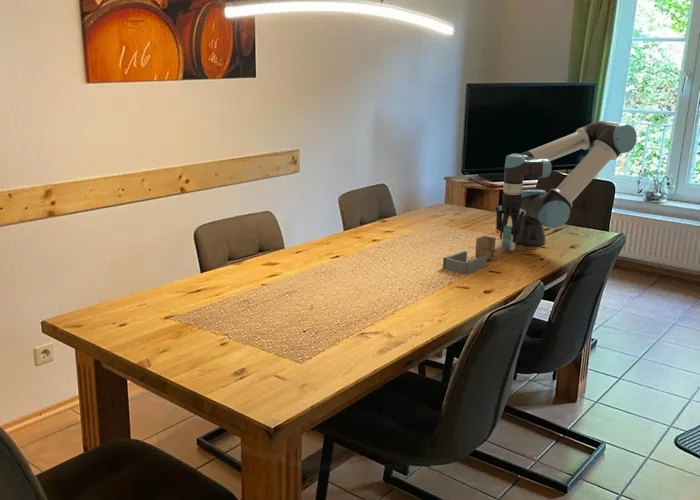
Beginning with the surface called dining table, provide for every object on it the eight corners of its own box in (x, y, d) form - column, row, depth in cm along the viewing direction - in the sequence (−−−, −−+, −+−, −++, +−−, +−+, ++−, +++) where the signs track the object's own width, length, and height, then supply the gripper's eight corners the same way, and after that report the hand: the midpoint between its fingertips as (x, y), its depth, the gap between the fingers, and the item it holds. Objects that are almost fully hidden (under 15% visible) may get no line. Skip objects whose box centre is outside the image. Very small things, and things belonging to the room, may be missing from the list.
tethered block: (504, 246, 290) (506, 223, 287) (515, 249, 287) (517, 225, 284) (475, 257, 274) (476, 233, 272) (486, 260, 271) (487, 235, 268)
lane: (463, 260, 274) (464, 250, 273) (486, 266, 267) (487, 256, 266) (442, 267, 264) (443, 257, 263) (465, 274, 257) (466, 263, 256)
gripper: (489, 191, 283) (485, 246, 290) (525, 197, 272) (520, 254, 279) (499, 188, 288) (495, 242, 295) (535, 194, 278) (530, 250, 284)
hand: (507, 248), depth 287 cm, fingers closed on tethered block, 3 cm apart
